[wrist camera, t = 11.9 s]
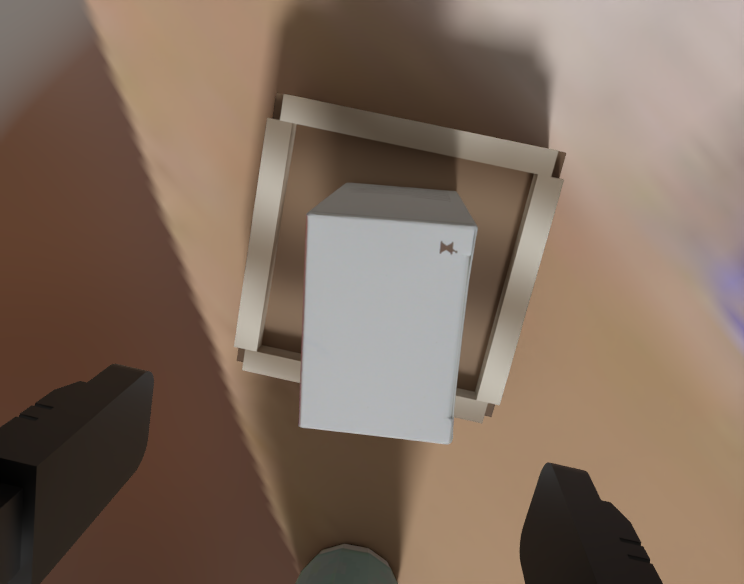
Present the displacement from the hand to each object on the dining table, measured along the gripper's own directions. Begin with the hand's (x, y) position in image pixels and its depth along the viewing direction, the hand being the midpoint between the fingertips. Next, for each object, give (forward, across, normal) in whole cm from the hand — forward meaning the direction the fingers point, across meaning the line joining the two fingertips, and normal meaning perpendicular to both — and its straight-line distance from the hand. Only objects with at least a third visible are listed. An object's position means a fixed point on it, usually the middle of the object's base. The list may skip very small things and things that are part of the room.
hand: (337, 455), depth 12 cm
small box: (+19, 0, 0) cm, 19 cm away
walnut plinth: (+22, 0, 0) cm, 23 cm away
